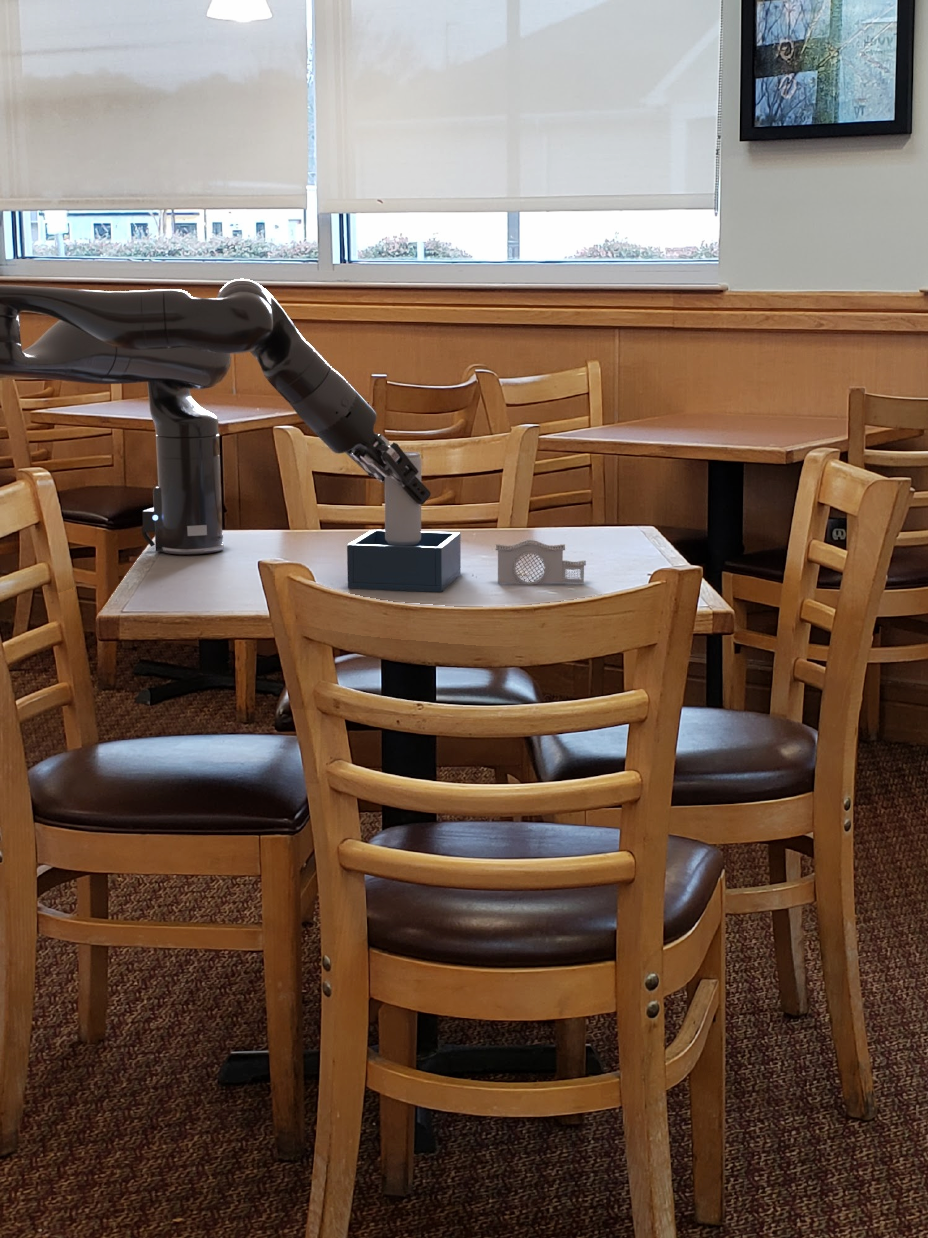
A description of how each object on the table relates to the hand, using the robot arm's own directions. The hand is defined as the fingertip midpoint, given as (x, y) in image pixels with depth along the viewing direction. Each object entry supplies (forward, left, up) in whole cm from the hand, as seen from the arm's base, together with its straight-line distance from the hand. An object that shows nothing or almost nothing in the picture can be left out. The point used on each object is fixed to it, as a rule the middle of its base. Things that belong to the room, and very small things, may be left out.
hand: (415, 496), depth 195 cm
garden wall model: (+17, +1, -12) cm, 20 cm away
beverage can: (-2, -1, -6) cm, 7 cm away
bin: (-1, -1, -11) cm, 11 cm away
